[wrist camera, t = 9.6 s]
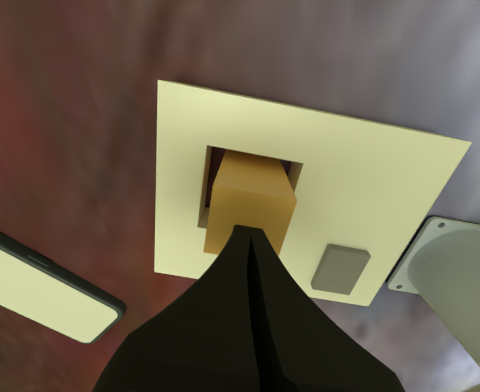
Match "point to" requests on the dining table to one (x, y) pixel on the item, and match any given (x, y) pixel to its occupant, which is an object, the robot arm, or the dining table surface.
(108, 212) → the dining table surface
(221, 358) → the robot arm
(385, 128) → the socket plate
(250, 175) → the plug
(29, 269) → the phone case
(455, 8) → the dining table surface
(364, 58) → the dining table surface
